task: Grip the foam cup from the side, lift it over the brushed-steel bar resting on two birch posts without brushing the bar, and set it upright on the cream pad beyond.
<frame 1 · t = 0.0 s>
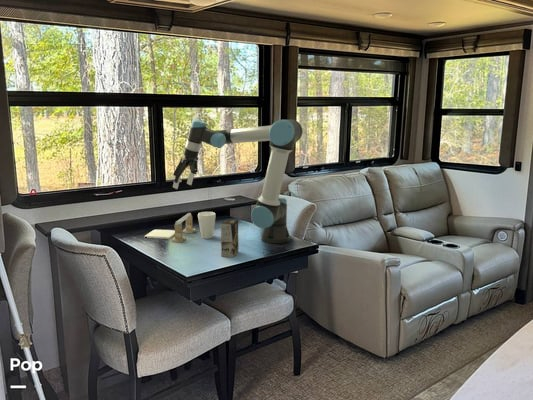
hand: (182, 186, 245), 28 cm above the table, tool tilted 20°, fingers open, 13 cm apart
steel bar: (183, 220, 249), point 9 cm above the table, touching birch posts
foam cup: (207, 237, 249), on the table
cream pad: (161, 234, 253), on the table
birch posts: (184, 235, 251), on the table
coffee box: (230, 254, 220), on the table
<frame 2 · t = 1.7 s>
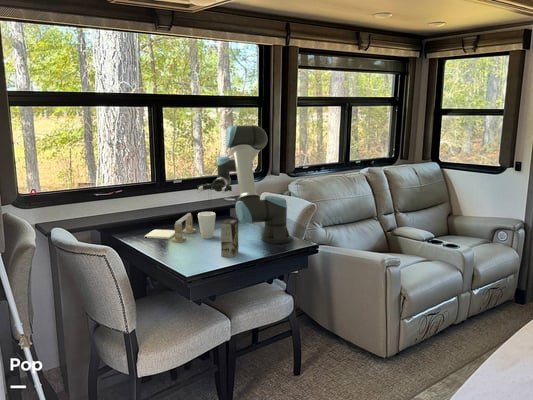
hand: (210, 190, 254), 24 cm above the table, tool horizontal, fingers open, 13 cm apart
nothing on the table moved.
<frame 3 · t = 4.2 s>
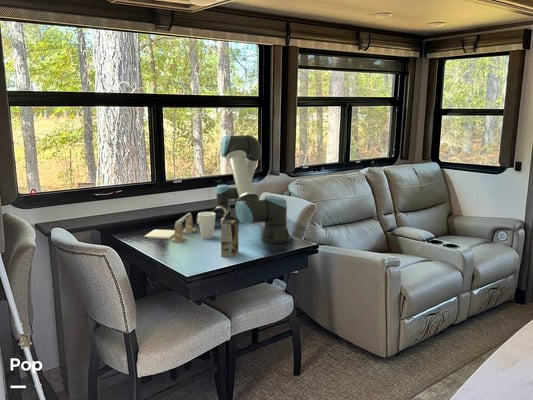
hand: (209, 221, 254), 7 cm above the table, tool horizontal, fingers open, 13 cm apart
nothing on the table moved.
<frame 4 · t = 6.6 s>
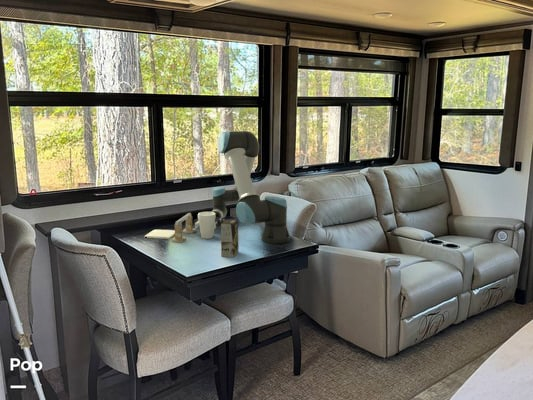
hand: (204, 226, 244), 7 cm above the table, tool horizontal, fingers closed on foam cup, 9 cm apart
foam cup: (207, 237, 249), on the table, touching gripper
everything else where it was.
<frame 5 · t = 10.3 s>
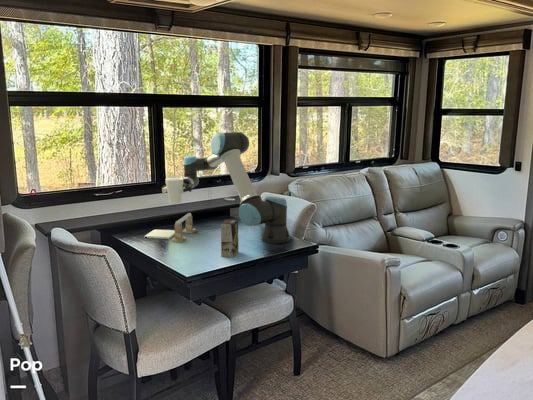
hand: (171, 191, 245), 25 cm above the table, tool horizontal, fingers closed on foam cup, 9 cm apart
foam cup: (175, 202, 251), point 18 cm above the table, touching gripper
everything else where it was.
when the fingers open (9 cm above the table, at t = 14.5 s): foam cup drops 1 cm, resting on cream pad.
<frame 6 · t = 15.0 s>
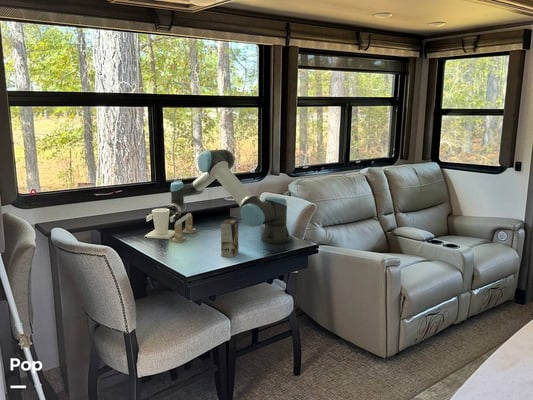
hand: (158, 219, 248), 9 cm above the table, tool horizontal, fingers open, 13 cm apart
foam cup: (161, 233, 253), point 1 cm above the table, touching cream pad
everything else where it was.
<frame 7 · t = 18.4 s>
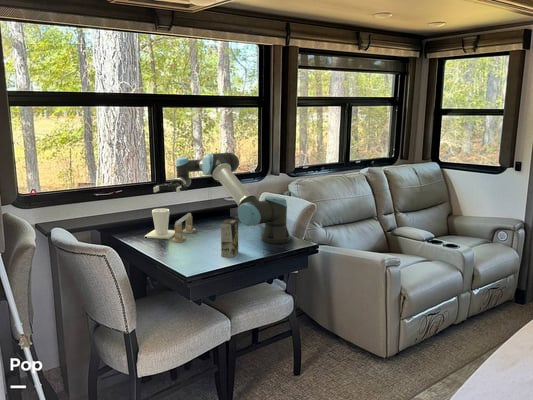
hand: (165, 190, 259), 23 cm above the table, tool horizontal, fingers open, 13 cm apart
nothing on the table moved.
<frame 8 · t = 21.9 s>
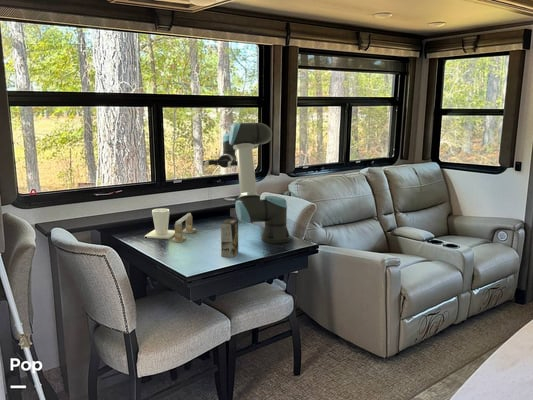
hand: (216, 164, 255), 38 cm above the table, tool horizontal, fingers open, 13 cm apart
nothing on the table moved.
at the end: foam cup inside the target area on the cream pad (0.1 cm from its centre), point 0.8 cm above the cream pad's base; foam cup tilted 0°; steel bar moved 0.0 cm from its start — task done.
